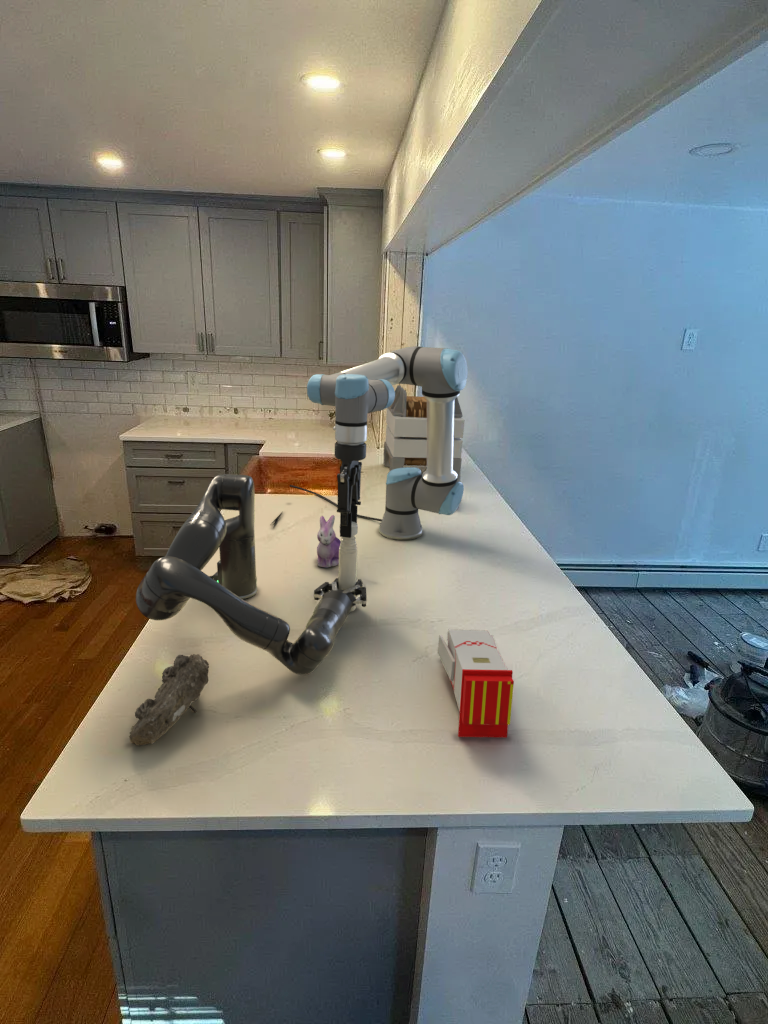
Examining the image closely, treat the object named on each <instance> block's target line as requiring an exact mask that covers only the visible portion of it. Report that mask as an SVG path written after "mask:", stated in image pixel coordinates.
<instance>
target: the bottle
mask: <svg viewBox="0 0 768 1024" xmlns="http://www.w3.org/2000/svg"><path fill="white" fill-rule="evenodd" d="M340 541H341V543H340V546H339V564H338V575H337V576H338V577H337V578H338V589H341V590H347V589H349V588H350V587H354V586H355V584H356V582H357V579H358V577H357V576H358V575H357V573H358V546H357V545H358V544H357V539H356V535H354V536H351V538H347V537H340ZM356 606H357V604H356V605H355V606H353V607H352V608H351V611H350V613H351V612H354V611H355V610H356V609H357V607H356Z"/></svg>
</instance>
